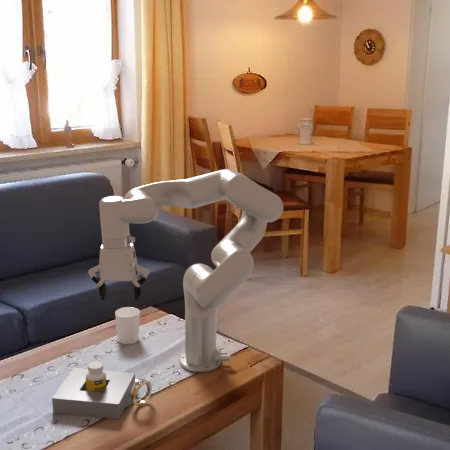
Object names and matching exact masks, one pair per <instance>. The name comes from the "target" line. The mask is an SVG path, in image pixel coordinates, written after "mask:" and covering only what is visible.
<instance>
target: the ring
mask: <svg viewBox="0 0 450 450" xmlns="http://www.w3.org/2000/svg"><path fill="white" fill-rule="evenodd" d="M145 379H146V377H143V378H141V377H139V378H137V379H136V378H135V382H134V384H133V387H132V390H131V396H130V401H131V404H133V405H134V406H136V407H143V406H144V404H146V403H147V402H148V401H149V399H150V396H151V395H152V391H153V388H152V386H153V385H152V383H151V381H150V380H145ZM145 385H146V388H147V389H146V390H147V391H146V395H145V397H144V398H143V399H142V400H140V401H139V402H136V396H137V394H138V392H139V390H140V389H142V387H143V386H145ZM136 387H137V388H136Z"/></svg>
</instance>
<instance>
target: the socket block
mask: <svg viewBox="0 0 450 450" xmlns="http://www.w3.org/2000/svg"><path fill="white" fill-rule="evenodd" d="M103 370H104V369H103ZM104 371H105V372H106V388H105V390H104V392H103V393H101V392H90V391H86V373H87V372H88V368H83V367H82V368H80V367H73V368H72V370H71V371H70V373H69V374H68V375H67V377H66V378H65V379H64V381H63V382H62V384H61V385H60V386H59V388H58V389H57V390H56V392H55V393H54V395H53V396H52V397H51V400H52V402H51V403H52V413H53V414H60V415H71V416H79V417H90V418H91V417H92V418H100V419H101V418H102V419H110V420H120V418H121V417H122V415H123V412H124V410H125V409H126V407H127V405H126V404H128V403H129V401H130V399H131V398H130V396H131V390H132V387H133V384H134V382H135V381H136V373H135V372H125V371H115V370H104ZM129 398H130V399H129ZM128 400H129V401H128ZM127 402H128V403H127Z"/></svg>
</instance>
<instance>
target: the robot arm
mask: <svg viewBox="0 0 450 450" xmlns="http://www.w3.org/2000/svg"><path fill="white" fill-rule="evenodd" d="M221 201H227V202H229V203H230V204H231V205H233V206H235V207H237V208H238V209H241V211H242V212H241V217H240V219H239V220H238V222H237V223H236V225H235V226H234V227H233V228H232V229H231V230H230V232H228V233H227V234H226V235H225V236H224V237H223V238H222V239H221V240H220V241H219V242H218V243H217V244H216V246H214V247H213V249H212V251H211V252H210V253H211V255H210V257H211V258H210V259H211V261H212V264H213V265H215V267H216V268H215V269H213V268H212V267H210V266H209V265H208V264H207V265H206V264H204V263H194V264H192V265H190V266H189V267H188V268H187V269H186V270H185V273H184V274H183V280H182V287H183V294H184V305H185V306H184V308H185V309H184V311H185V312H184V313H185V314H184V321H185V322H184V329H185V330H184V353H183V354H182V355H181V356H180V358H179V363H180V366H181V367H182V368H183V369H185V370H187V371H190V372H194V373H207V372H211V371H214V370H216V369H217V368H219V367H220V365H221V363H222V362H229V363H230V362H231V355H230V354H228V351H220V350H219V346H218V345H217V326H218V325H217V322H218V321H217V317H218V308H219V307H220V306H221V305H223V304H224V303H225V302H226V301H227V300H228V299H230V297H232V295H233V294H235V292H236V291H237V290H238V289H240V288H241V286H243V284H244V283H245V282H246V281H247V280H248V279H249V278H250V276H251V274H252V272H253V269H254V266H255V265H254V264H255V263H254V257H253V256H252V254H251V252H252V251H253V250H254V248H255V247H256V246H257V245H258V244H259V243H260V242H261V240H262V239H263V237H264V236H265V233H266V230H267V225H268V223H273V222H275V221H277V220H278V219H280V217H281V216H282V214H283V212H284V204H283V201H282V199H281V197H280V196H279V195H277V194H276V193H274V192H272V191H270V190H268V188H267V189H266V188H265V187H263V186H261V185H259V184H258V183H256V182H255V181H253V180H252V179H250V178H249V177H248V176H246V175H244V174H243V173H240V172H238V171H237V170H235V169H233V168H224V169H219V170H216V171H213V172H208V173H204V174H201V175H197V176H192V177H188V178H185V179H176V180H175V179H174V180H167V181H159V182H158V181H157V182H153V183H149V184H145V185H141V186H138V187H134V188H132V189H130V190H128V191H127V192H126V194H125V195H124V197H123V196H119V195H110V196H106V197H105V196H104V197H103V198H101V200H99V205H98V207H99V219H100V229H101V241H102V244H101V246H100V249H99V259H98V261H99V264H98V265H96V266H94V267H92V268H90V269H88V271H87V273H88V275H89V277H90V278H91V280H92V281H93V282H94V283H95V284H96V286H97V287H98V294H99V296H100V299H101V301H104V300H105V299H106V297H107V294H108V293H107V284H106V282H131V283H133V285H134V288H133V289H134V292H133V293H134V300H135V301H138V300H139V299H140V297H142V285H143V284H144V283H145V282H146V280H147V278H148V276H149V274H150V270H149V269H148V268H145V267H143V266H141V265H139V264H138V259H137V258H138V257H137V255H136V249H135V245H134V243H135V242H136V238H135V236H131V233H130V224H148V223H151V222H153V221H154V220H155V219H156V218H157V216H158V213H159V208H162V207H179V208H183V209H197V208H200V207H203V206H206V205H210V204H214V203H217V202H221ZM97 272H99V276H100V277H99V276H98V275H96V273H97ZM139 273H140V274H142V277H141V278H140V277H139V276H138V275H139Z"/></svg>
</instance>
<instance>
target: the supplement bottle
mask: <svg viewBox="0 0 450 450" xmlns="http://www.w3.org/2000/svg"><path fill="white" fill-rule="evenodd" d="M87 369H88V372H87V373H86V391H90V392H101V393H103V392H104V390H105V388H106V372H105V371H106V370H105V371H104V364H103V362H100V361H93V362H90V363H88V365H87Z"/></svg>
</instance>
